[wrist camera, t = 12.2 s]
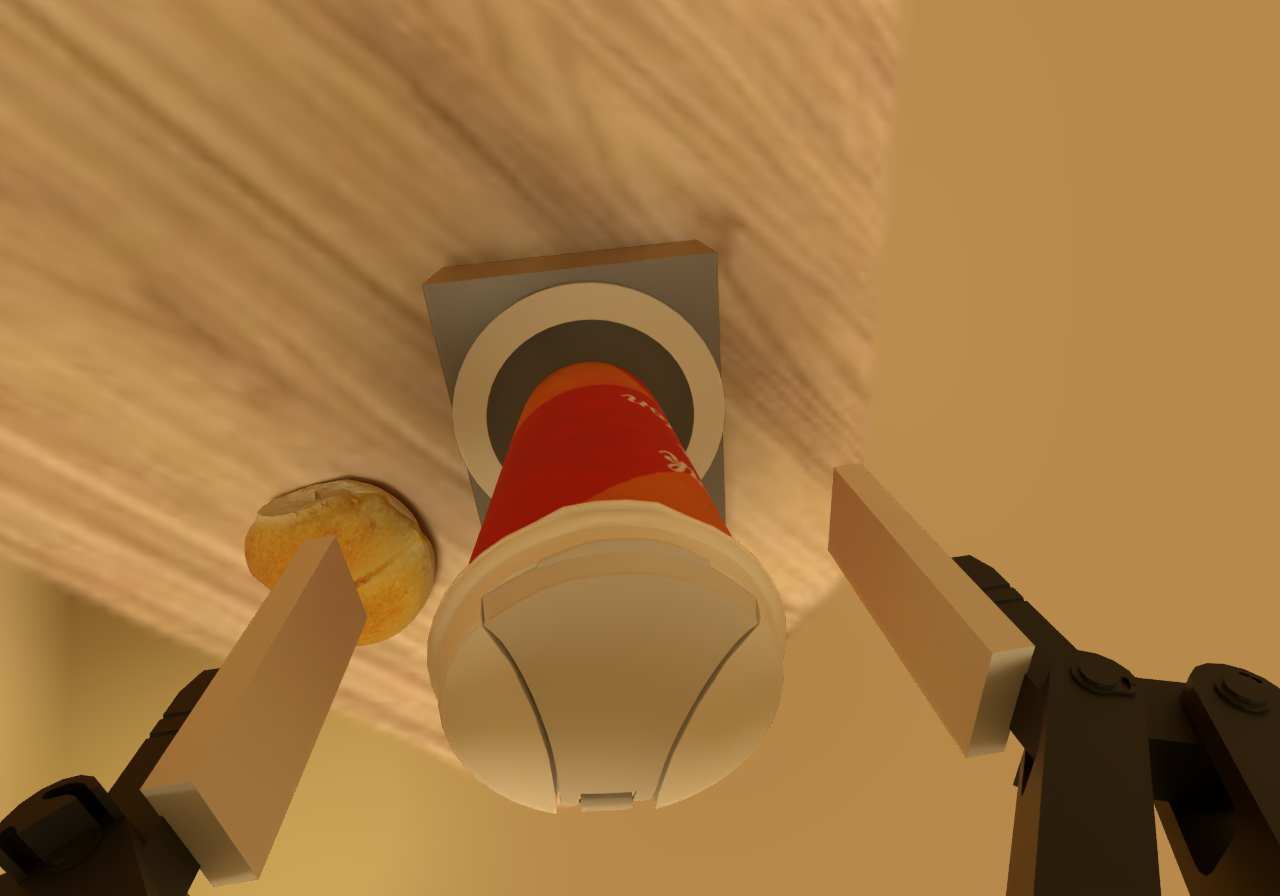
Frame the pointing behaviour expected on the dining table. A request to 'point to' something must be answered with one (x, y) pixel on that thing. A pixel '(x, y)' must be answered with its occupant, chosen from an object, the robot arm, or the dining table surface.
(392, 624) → the bread roll
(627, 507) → the paper cup
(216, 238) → the dining table surface
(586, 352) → the block
